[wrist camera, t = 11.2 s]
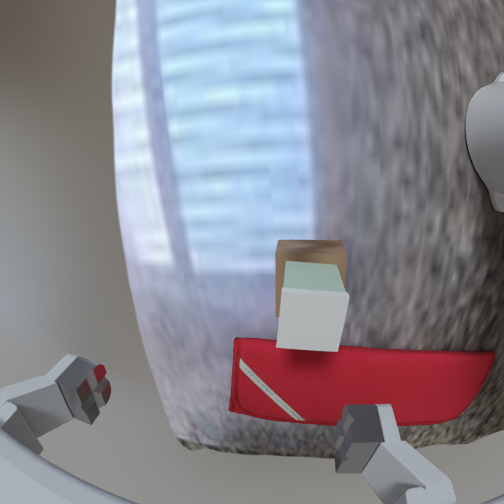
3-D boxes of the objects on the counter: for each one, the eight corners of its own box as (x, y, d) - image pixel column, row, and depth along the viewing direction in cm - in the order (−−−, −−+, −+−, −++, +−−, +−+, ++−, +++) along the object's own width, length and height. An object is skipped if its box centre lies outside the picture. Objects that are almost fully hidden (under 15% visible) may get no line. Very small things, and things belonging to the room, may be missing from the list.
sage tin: (337, 263, 28) (349, 297, 22) (330, 310, 30) (337, 351, 23) (284, 259, 29) (281, 291, 22) (280, 306, 31) (276, 347, 24)
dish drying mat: (452, 414, 39) (458, 428, 36) (230, 403, 44) (225, 420, 40) (492, 346, 34) (502, 359, 31) (238, 324, 38) (232, 340, 35)
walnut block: (340, 239, 33) (347, 254, 28) (336, 296, 35) (341, 317, 30) (278, 239, 34) (275, 253, 29) (278, 295, 36) (275, 316, 31)
